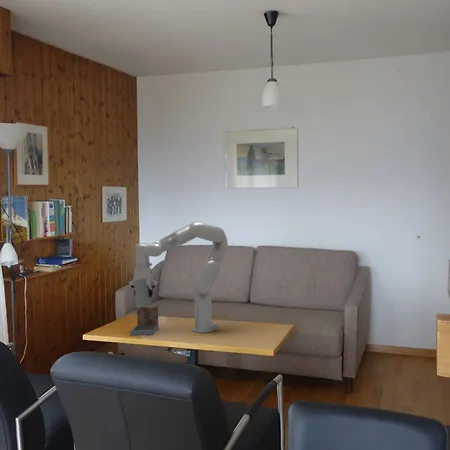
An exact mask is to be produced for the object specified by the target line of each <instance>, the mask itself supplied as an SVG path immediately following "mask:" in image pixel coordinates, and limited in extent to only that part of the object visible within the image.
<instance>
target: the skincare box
mask: <svg viewBox="0 0 450 450" xmlns="http://www.w3.org/2000/svg"><path fill="white" fill-rule="evenodd" d="M134 286H135V296H134V298H135V308H136V307H148V306H153V301H152V300H153V299H152V296H153V295H152V296H151V297H149V290H150V288H149V286H147V282H146V279H135V285H134Z"/></svg>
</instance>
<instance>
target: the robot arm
mask: <svg viewBox="0 0 450 450" xmlns="http://www.w3.org/2000/svg"><path fill="white" fill-rule="evenodd" d="M197 238H198V239H202V240H204V241H205V240H206V241H208V242H212V244H211V247H210V251H209V253H208V255H207V257H206V259H205V260H204V261H203V263H202V268H201V270H200V272H199V275H198V276H196V277H195V278H194V281H193V290H194V291H193V292H194V326H193V328H192V332H194V333H210V332H214V331H215V329H216V328H220V325H221V324H220V323H213V320H212V319H213V317H212V288H213V287H214V286H215V285H214V284H215V283H216V280H217V279H218V276H219V274H220V272H221V265H222V262H223V259H224V257H225V255H226V253H227V251H228V237H227V235H226V233H225V231H224V229H223V228H222V227H219V226H214V225H211V224H206V223H204V222H201V221H199V220H196V221H194V222H191V223H190V224H187V225H185V226H183V227H181V228H179V229H177V230H175V231H173V232H171V233H170V234H168V235H167V236H164V237H162V238H160V239H159V240H156V241H154V242H153V243H137V244H135V268H134V272H133V279H131V280H130V281H129V282H128V285H129V286H130V287H131V289H132V290H133V293H134V294H133V296H134V297H135V279H146V282H147V286H149V288H150V290H149V297H151V296H153V295H154V294H153V293H154V292H153V291H154V289H155V288H156V286H157V285H158V283H159V282H158V281H157V280H156V279H154V278H153V270H152V266H153V263H151V262H150V257H159V256H161V255H162V254H163V253H165V252H166V251H169V250H170V249H173V248H175V247H179V246H183V245H185V244H186V243H188V242H190V241H193V240H194V239H197Z"/></svg>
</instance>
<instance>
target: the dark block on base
mask: <svg viewBox="0 0 450 450" xmlns="http://www.w3.org/2000/svg"><path fill="white" fill-rule="evenodd" d="M135 310H136V317H137V318H136V319H137V326H158V329H159V305H150V306H148V307H136V306H135Z"/></svg>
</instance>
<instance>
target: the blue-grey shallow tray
mask: <svg viewBox="0 0 450 450" xmlns="http://www.w3.org/2000/svg"><path fill="white" fill-rule="evenodd" d="M158 327H159V325H158V326H138V325H135V326H133V328H132V329H131V330H130V336H133V337H134V336H135V337H136V336H137V337H138V336H139V335H142V336H143V335H146V336H147V337H148V336H151V335H153V336H154V335H155V334H156V333H157V332H158V329H159V328H158ZM155 332H156V333H155ZM146 336H145V337H146ZM139 337H140V336H139Z"/></svg>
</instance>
